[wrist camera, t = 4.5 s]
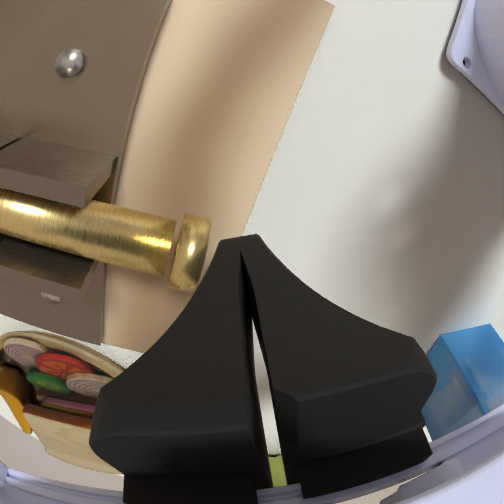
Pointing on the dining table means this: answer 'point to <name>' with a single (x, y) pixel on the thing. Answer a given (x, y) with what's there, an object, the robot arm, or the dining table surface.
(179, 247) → the hinge pin
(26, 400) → the toy sandwich meal
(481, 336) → the perfume bottle
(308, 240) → the dining table surface
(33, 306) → the hinge leaves
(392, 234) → the dining table surface
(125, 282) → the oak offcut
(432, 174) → the dining table surface
